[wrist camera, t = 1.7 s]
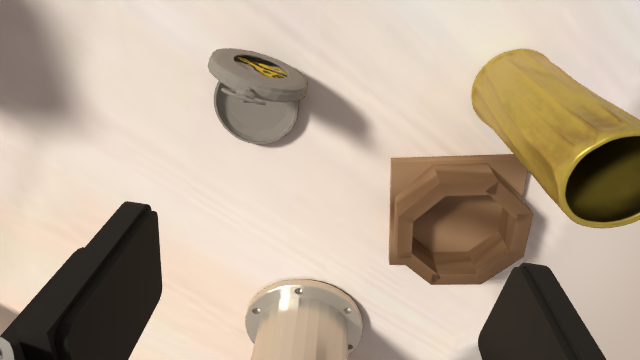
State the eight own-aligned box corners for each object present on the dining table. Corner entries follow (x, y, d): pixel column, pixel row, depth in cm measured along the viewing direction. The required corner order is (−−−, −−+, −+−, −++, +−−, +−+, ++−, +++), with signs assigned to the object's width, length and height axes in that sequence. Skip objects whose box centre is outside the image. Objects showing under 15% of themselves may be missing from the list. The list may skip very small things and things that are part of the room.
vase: (533, 30, 29) (669, 93, 17) (568, 96, 31) (711, 196, 19) (455, 81, 31) (526, 171, 19) (493, 141, 34) (579, 256, 21)
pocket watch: (234, 146, 35) (197, 212, 26) (195, 48, 31) (136, 88, 23) (327, 125, 34) (320, 188, 25) (298, 19, 30) (278, 50, 21)
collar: (505, 257, 39) (520, 286, 36) (389, 259, 40) (392, 287, 37) (526, 153, 34) (545, 176, 31) (391, 158, 35) (395, 180, 32)
